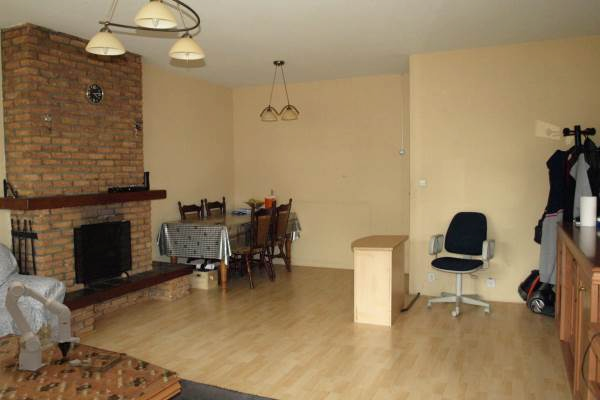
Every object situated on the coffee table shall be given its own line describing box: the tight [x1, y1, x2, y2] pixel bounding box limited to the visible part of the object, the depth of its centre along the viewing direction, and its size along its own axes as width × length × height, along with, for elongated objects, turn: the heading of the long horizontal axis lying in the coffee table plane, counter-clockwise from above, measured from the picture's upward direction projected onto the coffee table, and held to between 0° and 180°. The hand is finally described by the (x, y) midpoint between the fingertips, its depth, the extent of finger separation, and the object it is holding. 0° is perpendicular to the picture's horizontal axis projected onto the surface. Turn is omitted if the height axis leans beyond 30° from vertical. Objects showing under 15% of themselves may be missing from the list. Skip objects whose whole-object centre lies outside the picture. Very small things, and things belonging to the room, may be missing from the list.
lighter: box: [68, 358, 92, 368], centre depth 238 cm, size 7×2×8 cm
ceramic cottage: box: [19, 321, 56, 352], centre depth 262 cm, size 16×16×15 cm
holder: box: [78, 352, 123, 373], centre depth 238 cm, size 14×15×2 cm
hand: (65, 356), depth 242 cm, fingers closed
